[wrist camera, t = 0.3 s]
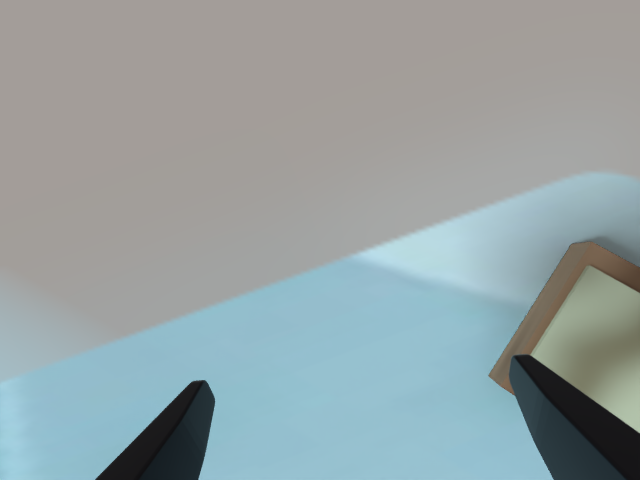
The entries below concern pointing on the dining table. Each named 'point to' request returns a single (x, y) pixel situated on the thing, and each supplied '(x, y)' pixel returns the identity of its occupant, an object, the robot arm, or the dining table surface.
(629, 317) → the board
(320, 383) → the dining table surface
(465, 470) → the dining table surface
